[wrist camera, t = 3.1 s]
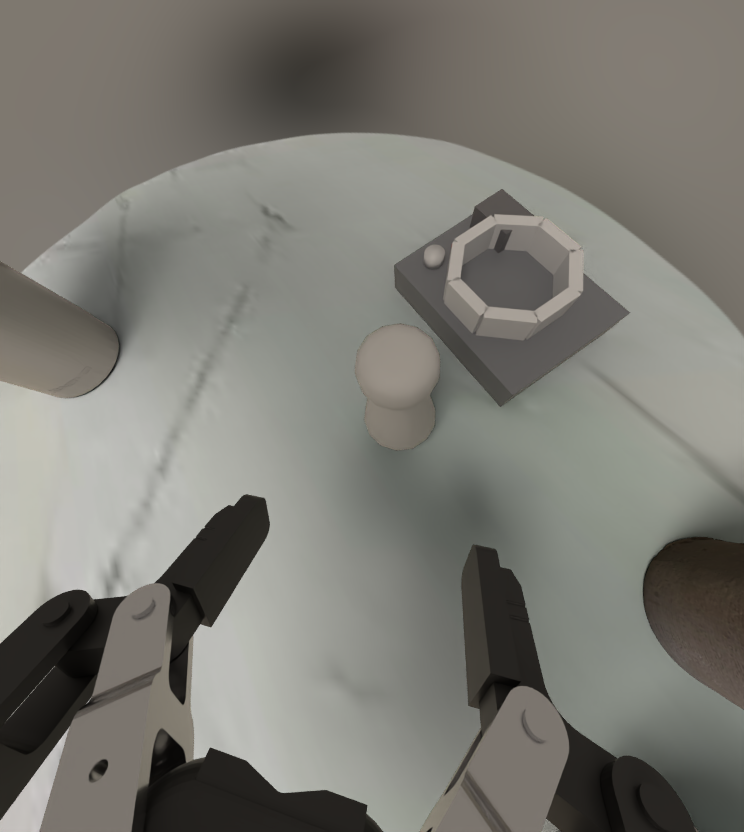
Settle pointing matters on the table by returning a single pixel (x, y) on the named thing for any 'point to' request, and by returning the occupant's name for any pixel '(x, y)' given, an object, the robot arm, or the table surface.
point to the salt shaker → (398, 384)
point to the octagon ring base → (506, 295)
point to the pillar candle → (701, 610)
